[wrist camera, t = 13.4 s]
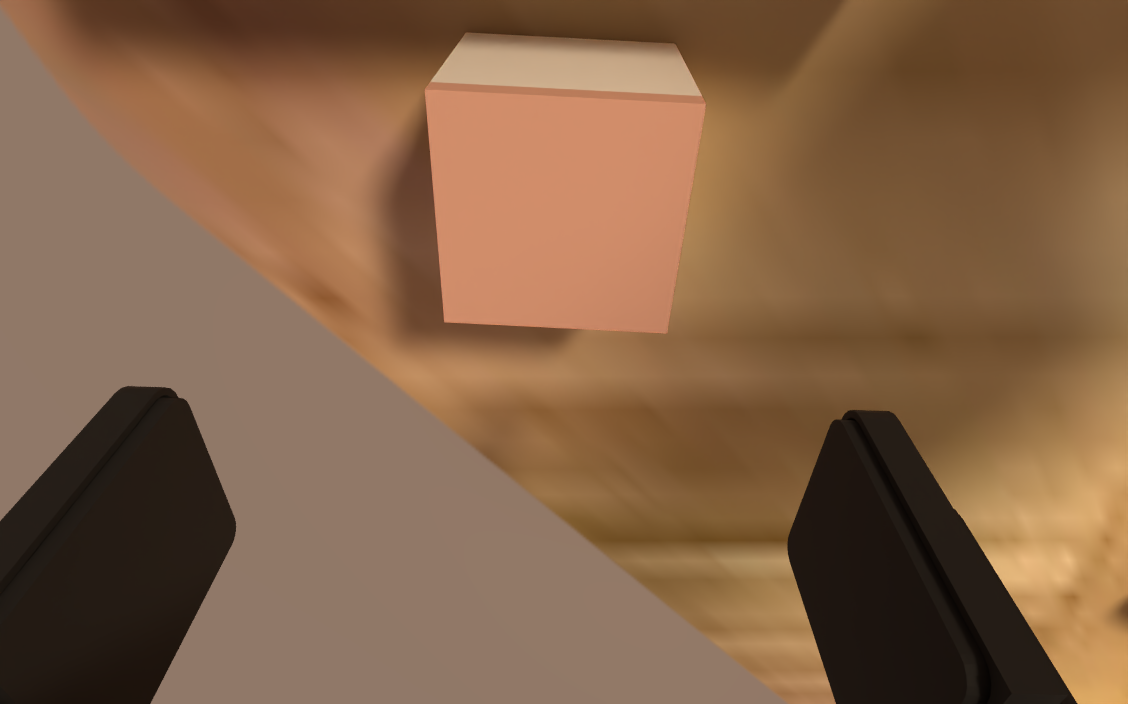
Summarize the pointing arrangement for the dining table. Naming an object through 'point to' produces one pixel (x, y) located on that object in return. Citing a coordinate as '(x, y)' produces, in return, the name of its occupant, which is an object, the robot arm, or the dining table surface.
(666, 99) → the orange and beige cube
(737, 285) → the dining table surface
